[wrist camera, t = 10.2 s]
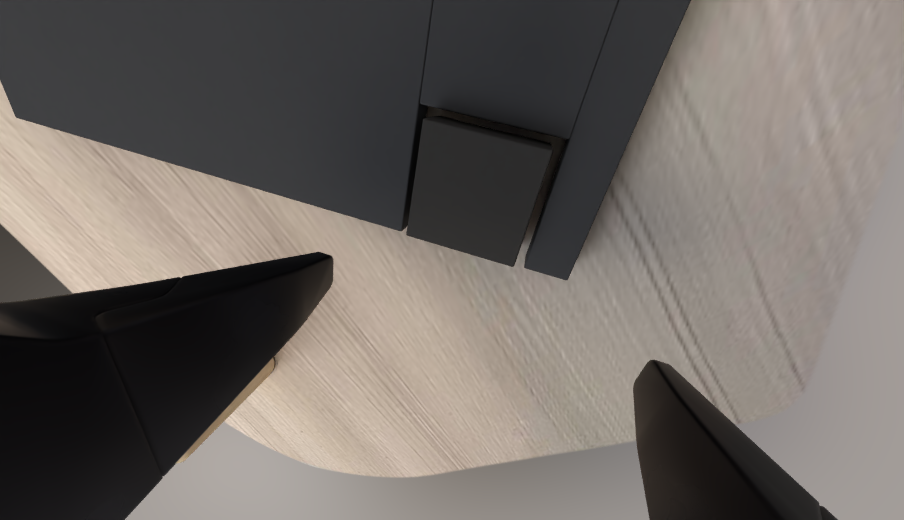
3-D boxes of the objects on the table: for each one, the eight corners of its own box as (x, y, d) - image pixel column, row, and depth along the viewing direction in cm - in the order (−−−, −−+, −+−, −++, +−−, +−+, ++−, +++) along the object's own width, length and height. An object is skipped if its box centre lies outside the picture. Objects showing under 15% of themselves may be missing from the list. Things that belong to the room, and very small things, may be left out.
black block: (552, 143, 16) (553, 150, 14) (516, 248, 19) (513, 267, 17) (438, 115, 17) (422, 117, 15) (420, 220, 20) (405, 235, 18)
